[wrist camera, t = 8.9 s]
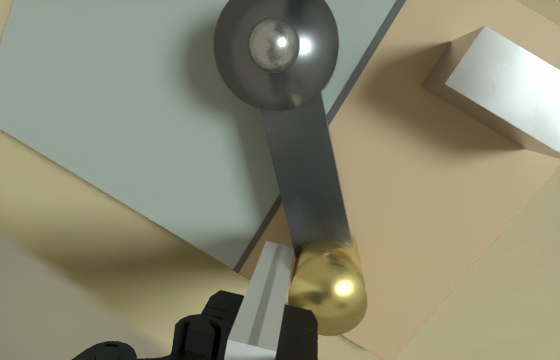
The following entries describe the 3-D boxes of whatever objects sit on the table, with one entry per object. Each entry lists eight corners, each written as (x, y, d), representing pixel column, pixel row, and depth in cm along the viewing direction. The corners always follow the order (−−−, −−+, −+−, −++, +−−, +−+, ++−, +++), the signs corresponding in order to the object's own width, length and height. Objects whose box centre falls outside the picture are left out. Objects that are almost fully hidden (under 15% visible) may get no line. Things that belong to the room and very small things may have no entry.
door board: (111, -227, 15) (91, -255, 13) (612, 74, 15) (637, 73, 13) (-1, 114, 19) (-23, 116, 18) (387, 348, 19) (391, 365, 18)
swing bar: (221, 14, 15) (181, -16, 11) (325, -17, 14) (323, -62, 10) (289, 285, 17) (276, 342, 13) (381, 272, 16) (397, 328, 12)
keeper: (451, 40, 14) (485, 25, 11) (559, 106, 14) (624, 109, 11) (420, 86, 15) (444, 84, 11) (525, 149, 15) (577, 163, 11)
